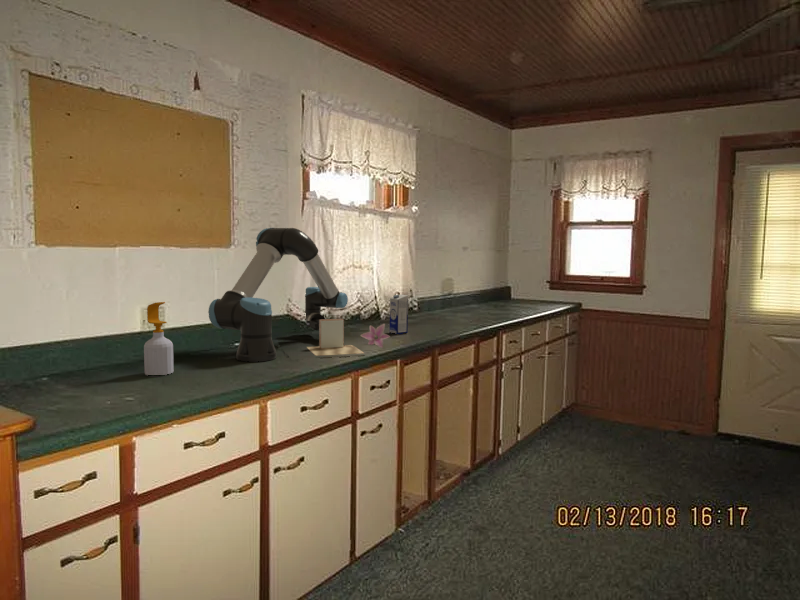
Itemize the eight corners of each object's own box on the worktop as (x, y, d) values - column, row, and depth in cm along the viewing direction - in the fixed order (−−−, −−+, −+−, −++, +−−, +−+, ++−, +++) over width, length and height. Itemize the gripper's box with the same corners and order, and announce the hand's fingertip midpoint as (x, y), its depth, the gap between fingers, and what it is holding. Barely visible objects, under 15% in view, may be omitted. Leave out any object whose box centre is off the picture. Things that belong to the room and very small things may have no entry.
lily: (357, 347, 252) (357, 331, 246) (373, 335, 260) (373, 318, 254) (378, 358, 246) (379, 341, 240) (394, 345, 254) (395, 328, 248)
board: (315, 358, 220) (315, 355, 220) (306, 349, 239) (306, 347, 239) (364, 356, 227) (364, 353, 227) (351, 347, 246) (351, 344, 245)
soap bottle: (155, 377, 184) (153, 303, 182) (139, 374, 189) (137, 302, 187) (179, 372, 192) (177, 301, 190) (162, 369, 197) (161, 300, 195)
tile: (320, 348, 235) (320, 320, 234) (319, 347, 238) (319, 319, 237) (343, 347, 239) (343, 319, 238) (342, 346, 241) (342, 318, 240)
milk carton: (407, 333, 288) (408, 295, 286) (396, 334, 284) (397, 295, 282) (400, 331, 294) (400, 294, 292) (389, 332, 290) (389, 294, 288)
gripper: (330, 328, 270) (342, 335, 248) (303, 329, 266) (313, 337, 243) (330, 313, 269) (342, 319, 247) (303, 313, 265) (313, 320, 243)
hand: (327, 328), depth 245 cm, fingers closed
